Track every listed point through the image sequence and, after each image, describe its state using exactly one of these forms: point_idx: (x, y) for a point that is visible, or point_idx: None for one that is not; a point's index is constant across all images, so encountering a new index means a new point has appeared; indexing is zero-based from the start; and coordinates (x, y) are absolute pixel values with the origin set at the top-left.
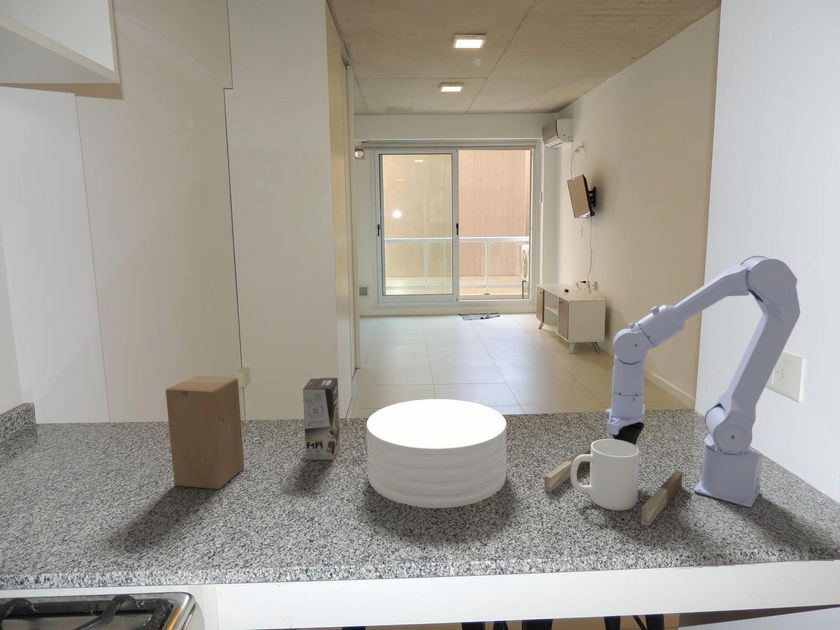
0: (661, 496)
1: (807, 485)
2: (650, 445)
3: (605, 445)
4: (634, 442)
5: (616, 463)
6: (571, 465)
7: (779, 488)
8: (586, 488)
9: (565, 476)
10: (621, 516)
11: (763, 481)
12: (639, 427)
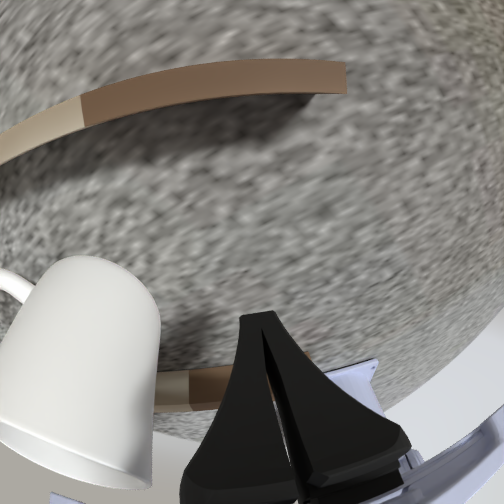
0: (154, 411)
1: (399, 400)
2: (493, 206)
3: (69, 419)
4: (282, 423)
5: (33, 442)
6: (85, 127)
7: (380, 399)
8: (13, 296)
9: (52, 140)
10: None
11: (395, 385)
12: (298, 501)
